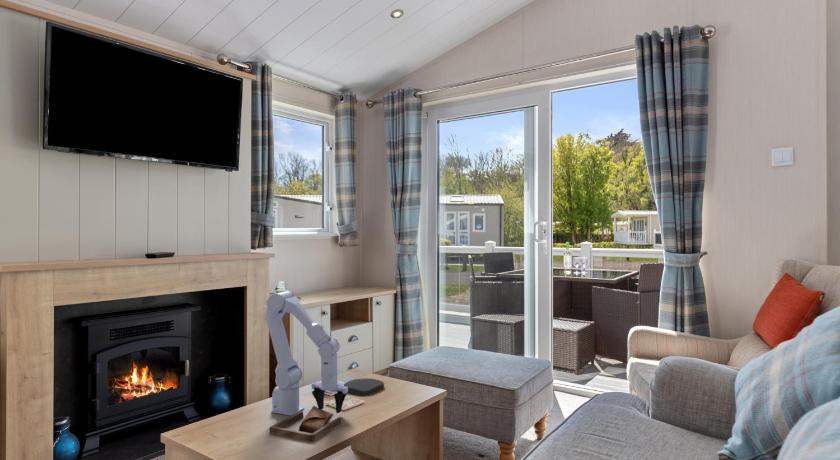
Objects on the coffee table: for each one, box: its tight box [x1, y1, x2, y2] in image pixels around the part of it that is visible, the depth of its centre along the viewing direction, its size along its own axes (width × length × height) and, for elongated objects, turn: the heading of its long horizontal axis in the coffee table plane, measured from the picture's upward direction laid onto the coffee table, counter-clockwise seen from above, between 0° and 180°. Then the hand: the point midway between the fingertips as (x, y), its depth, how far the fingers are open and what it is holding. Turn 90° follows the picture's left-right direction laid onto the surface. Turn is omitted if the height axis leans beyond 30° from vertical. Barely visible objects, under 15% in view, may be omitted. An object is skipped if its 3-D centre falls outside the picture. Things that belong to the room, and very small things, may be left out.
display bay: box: [269, 410, 342, 443], centre depth 170 cm, size 17×16×2 cm
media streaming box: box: [343, 377, 385, 397], centre depth 212 cm, size 15×15×3 cm
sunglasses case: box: [298, 405, 334, 433], centre depth 174 cm, size 18×7×7 cm
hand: (329, 410), depth 182 cm, fingers open, 7 cm apart
